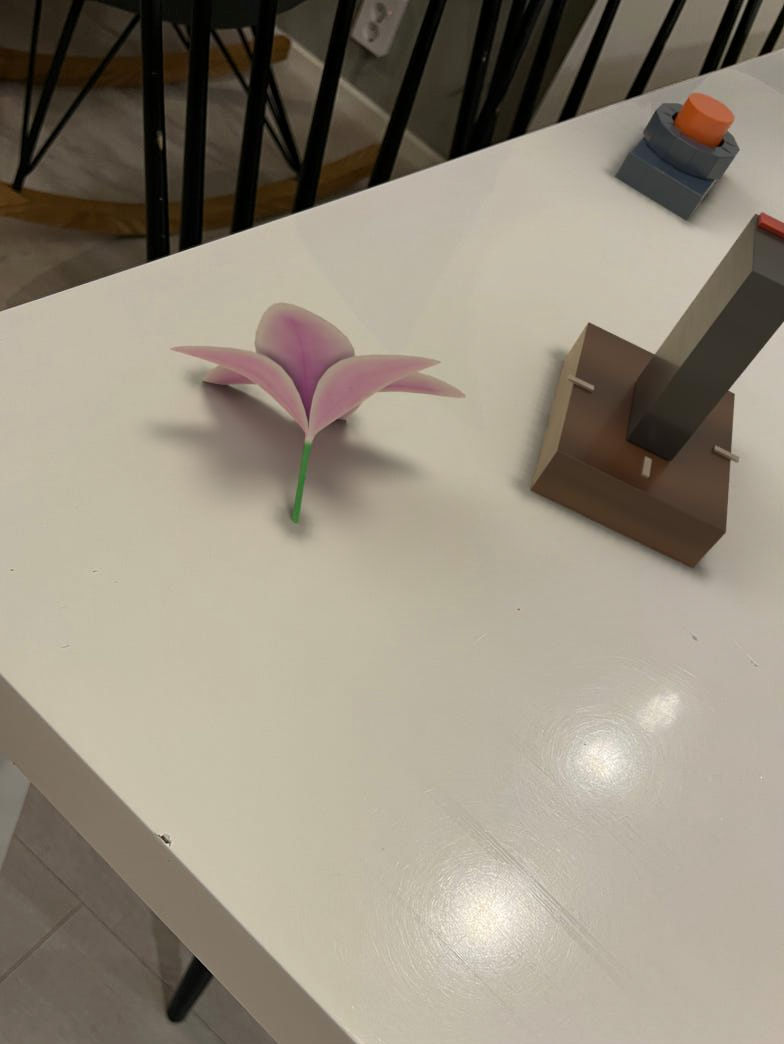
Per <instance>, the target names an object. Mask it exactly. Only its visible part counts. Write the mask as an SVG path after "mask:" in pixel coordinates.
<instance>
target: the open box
mask: <svg viewBox="0 0 784 1044" xmlns="http://www.w3.org/2000/svg"><path fill="white" fill-rule="evenodd" d="M783 324H784V222H783V221H781V220H779V219H777V218H775V217H773V216H771V215H769V214H767V213H765V212H763V211H761V212H760V213H759V214H758V213H754V215H753V216H752V217H751V219H750V220H749V222H748V223H747V224H746V225H745V227H744V228H743V230H742V232H741V233H740V235H739V236H738V237H737V238H736V240H735V241H734V242H733V244H732V245H731V247H730V248H729V250H728V251H727V253H726V254H725V255H724V256H723V258H722V259H721V261H720V262H719V264H718V265H717V266H716V268H715V269H714V271H713V272H712V274H710V276H709V278H708V279H707V280H706V282H705V284H704V285H703V286H702V287H701V289H700V291H699V292H698V293H697V294H696V296H695V297H694V298H693V300H692V301H691V303H690V304H689V306H688V307H687V308H686V310H685V312H684V313H683V314H682V315H681V316H680V318H679V320H678V321H677V322H676V323H675V325H674V327H673V328H672V330H671V331H670V332H669V333H668V335H667V336H666V338H665V339H664V341H663V342H662V343H661V345H660V346H659V348H658V349H657V350H656V352H655V353H654V354H655V355H654V356H653V358H652V359H651V360H650V362H649V363H648V365H647V366H646V367H645V369H644V370H643V372H642V373H641V374H640V376H639V377H638V379H637V383H636V389H635V395H634V400H633V406H632V412H631V418H630V423H629V429H628V435H627V440H629V441H631V442H633V443H635V444H637V445H639V446H641V447H643V448H645V449H647V450H649V451H651V452H653V453H655V454H657V455H659V456H661V457H664V458H666V459H668V460H670V461H672V460H673V459H674V457H675V456H676V455H677V454H678V452H679V451H680V450H681V449H682V447H683V446H684V445H685V444H686V442H687V441H688V440H689V439H690V437H691V436H692V435H693V434H694V433H695V431H696V430H697V429H698V428H699V426H700V425H701V424H702V423H703V421H704V420H705V419H706V418H707V416H708V415H709V414H710V413H711V411H712V410H713V409H714V408H715V406H716V405H717V404H718V403H719V402H720V400H721V399H722V398H723V397H724V395H725V394H726V393H727V392H728V391H730V389H731V388H732V387H733V385H734V384H735V383H736V382H737V381H738V379H739V378H740V377H741V375H742V374H743V373H744V372H745V371H746V369H747V368H748V367H749V366H750V365H751V363H752V362H753V361H754V359H756V357H757V356H758V354H760V352H761V351H762V350H763V349H764V347H765V346H766V345H767V343H769V341H770V340H771V338H772V337H773V336H774V335H775V333H777V331H778V330H779V329H780V327H781V326H782V325H783Z"/></svg>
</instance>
